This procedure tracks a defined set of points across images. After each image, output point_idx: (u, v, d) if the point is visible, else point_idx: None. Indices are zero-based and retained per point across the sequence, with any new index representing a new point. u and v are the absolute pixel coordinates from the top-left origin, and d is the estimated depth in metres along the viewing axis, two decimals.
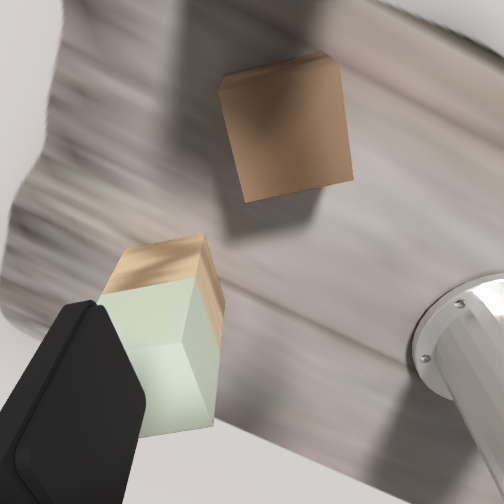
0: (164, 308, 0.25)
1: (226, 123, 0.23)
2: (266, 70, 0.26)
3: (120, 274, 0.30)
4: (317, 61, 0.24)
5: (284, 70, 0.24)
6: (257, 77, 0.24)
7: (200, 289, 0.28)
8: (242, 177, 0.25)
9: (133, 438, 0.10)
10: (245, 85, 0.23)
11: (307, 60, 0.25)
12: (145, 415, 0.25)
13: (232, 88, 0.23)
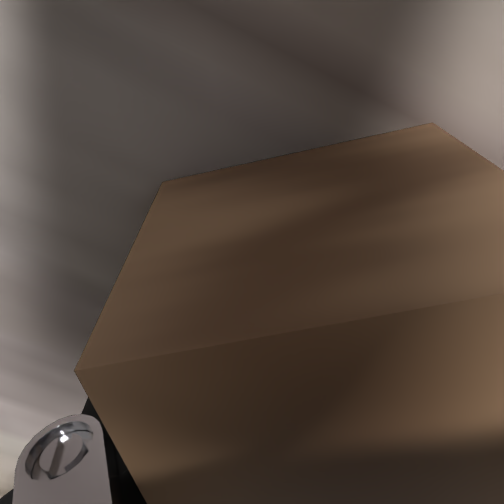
0: None
1: (128, 460, 0.06)
2: (280, 200, 0.08)
3: None
4: (469, 195, 0.07)
5: (351, 233, 0.06)
6: (251, 260, 0.06)
7: None
8: None
9: None
10: (197, 345, 0.05)
11: (413, 171, 0.08)
12: None
13: (141, 353, 0.05)
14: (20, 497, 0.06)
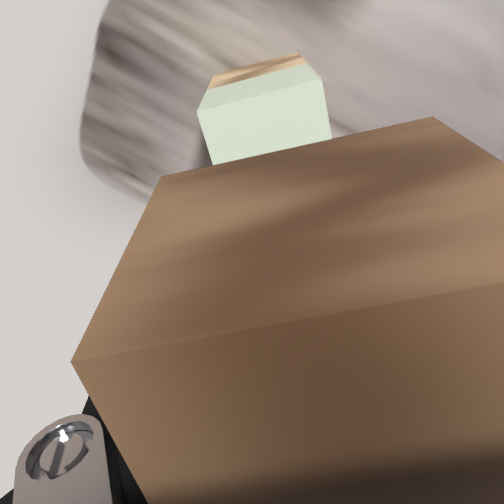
0: (286, 76, 0.24)
1: (126, 453, 0.06)
2: (279, 193, 0.08)
3: (220, 81, 0.29)
4: (469, 187, 0.07)
5: (351, 225, 0.06)
6: (250, 252, 0.06)
7: None
8: None
9: None
10: (195, 335, 0.05)
11: (413, 163, 0.08)
12: None
13: (138, 344, 0.05)
14: (20, 497, 0.06)
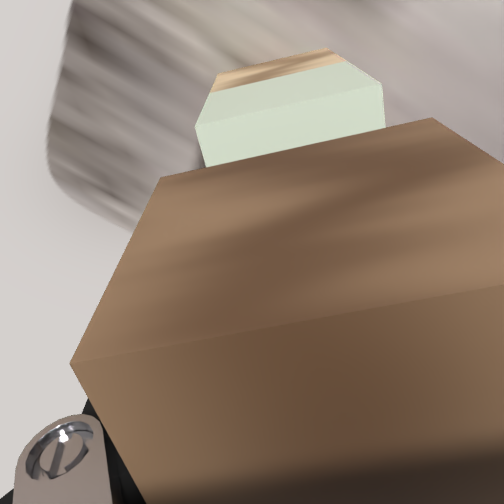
0: (322, 78, 0.17)
1: (125, 455, 0.06)
2: (278, 194, 0.08)
3: (227, 81, 0.22)
4: (469, 188, 0.07)
5: (350, 226, 0.06)
6: (249, 253, 0.06)
7: None
8: None
9: None
10: (194, 337, 0.05)
11: (412, 165, 0.08)
12: None
13: (137, 346, 0.05)
14: (20, 497, 0.06)
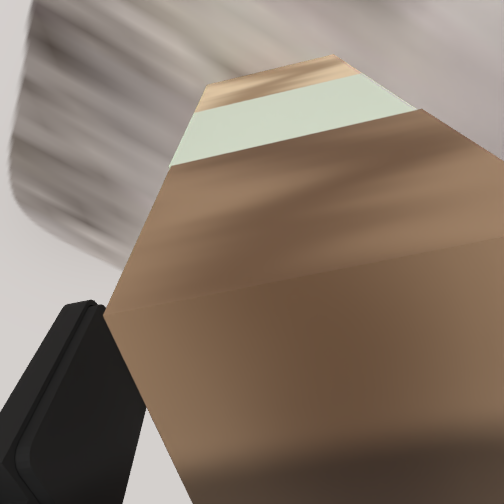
0: (334, 98, 0.14)
1: (148, 400, 0.07)
2: (280, 177, 0.09)
3: (216, 96, 0.18)
4: (450, 168, 0.07)
5: (345, 202, 0.07)
6: (255, 226, 0.07)
7: None
8: None
9: (133, 438, 0.10)
10: (210, 292, 0.06)
11: (401, 150, 0.09)
12: None
13: (161, 300, 0.06)
14: None
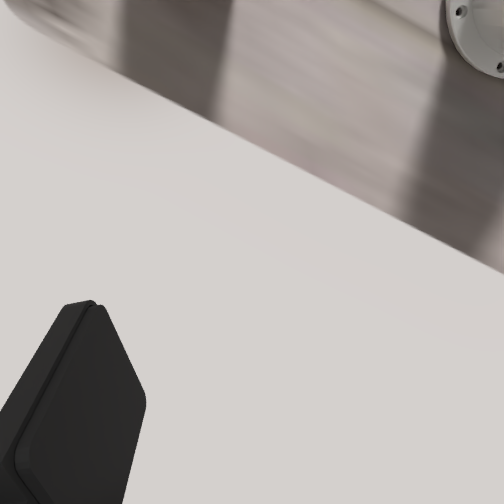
0: None
1: None
2: None
3: None
4: None
5: None
6: None
7: None
8: None
9: (133, 438, 0.10)
10: None
11: None
12: None
13: None
14: None
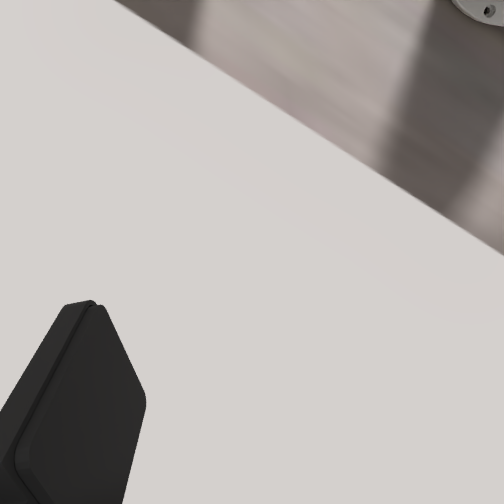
0: None
1: None
2: None
3: None
4: None
5: None
6: None
7: None
8: None
9: (133, 438, 0.10)
10: None
11: None
12: None
13: None
14: None
